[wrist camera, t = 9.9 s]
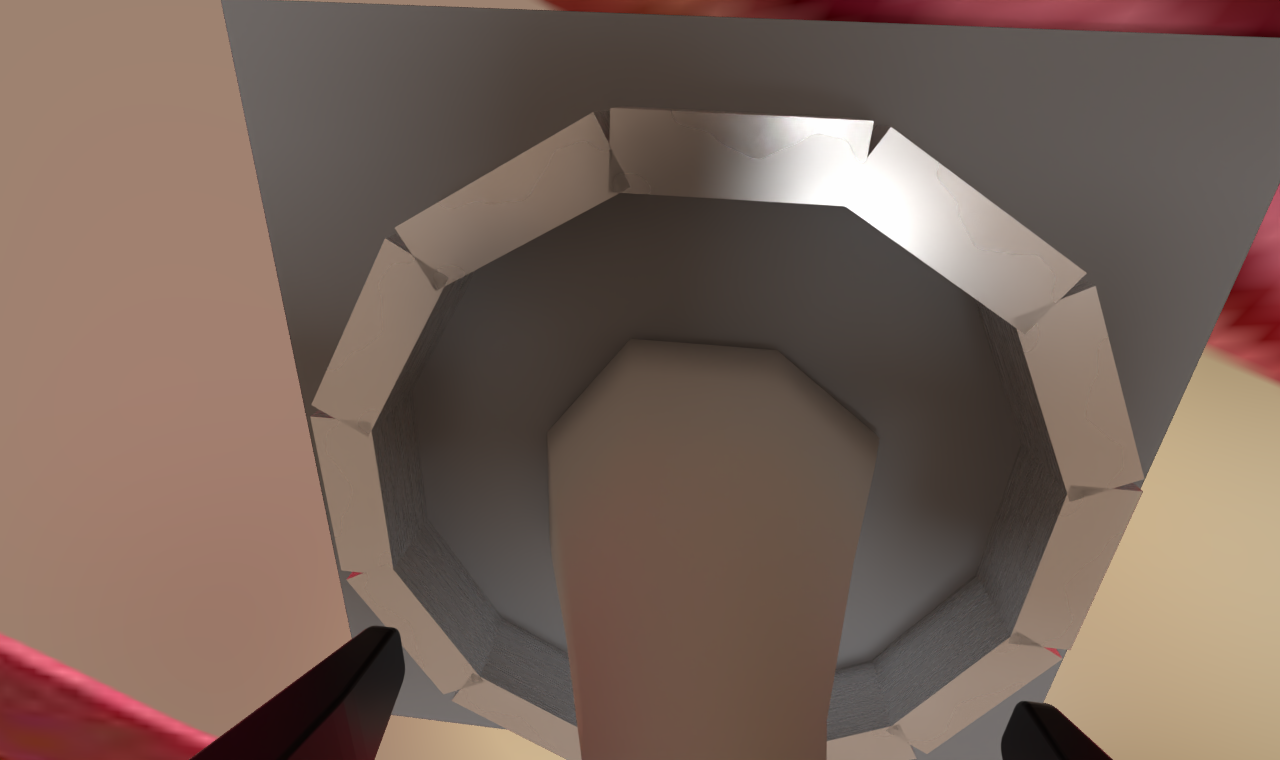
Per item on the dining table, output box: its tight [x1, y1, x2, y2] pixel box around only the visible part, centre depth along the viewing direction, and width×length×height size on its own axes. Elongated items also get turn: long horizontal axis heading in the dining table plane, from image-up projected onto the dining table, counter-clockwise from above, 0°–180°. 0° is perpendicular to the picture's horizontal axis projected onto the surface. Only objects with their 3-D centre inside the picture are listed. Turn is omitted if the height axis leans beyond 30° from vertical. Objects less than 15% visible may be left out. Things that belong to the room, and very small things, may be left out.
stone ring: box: [310, 107, 1144, 760], centre depth 13 cm, size 15×15×2 cm
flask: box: [547, 339, 880, 760], centre depth 9 cm, size 7×7×10 cm
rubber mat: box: [221, 0, 1280, 760], centre depth 14 cm, size 18×18×1 cm
